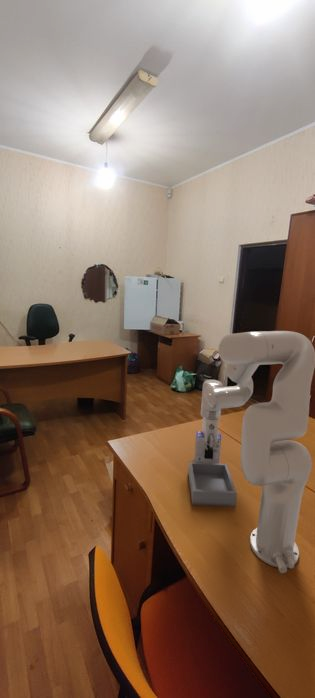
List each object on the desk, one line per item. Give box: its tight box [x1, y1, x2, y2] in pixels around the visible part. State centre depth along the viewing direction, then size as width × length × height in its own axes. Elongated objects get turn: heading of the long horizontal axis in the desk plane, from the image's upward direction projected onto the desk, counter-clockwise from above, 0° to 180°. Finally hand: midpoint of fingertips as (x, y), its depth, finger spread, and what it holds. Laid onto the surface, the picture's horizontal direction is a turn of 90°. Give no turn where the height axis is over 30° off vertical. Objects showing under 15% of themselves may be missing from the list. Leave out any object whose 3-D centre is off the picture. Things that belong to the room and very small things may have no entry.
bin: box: [187, 461, 238, 508], centre depth 105 cm, size 16×14×5 cm
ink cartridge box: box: [193, 430, 222, 463], centre depth 119 cm, size 10×6×14 cm, turn 79°
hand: (207, 453), depth 120 cm, fingers closed on ink cartridge box, 6 cm apart
